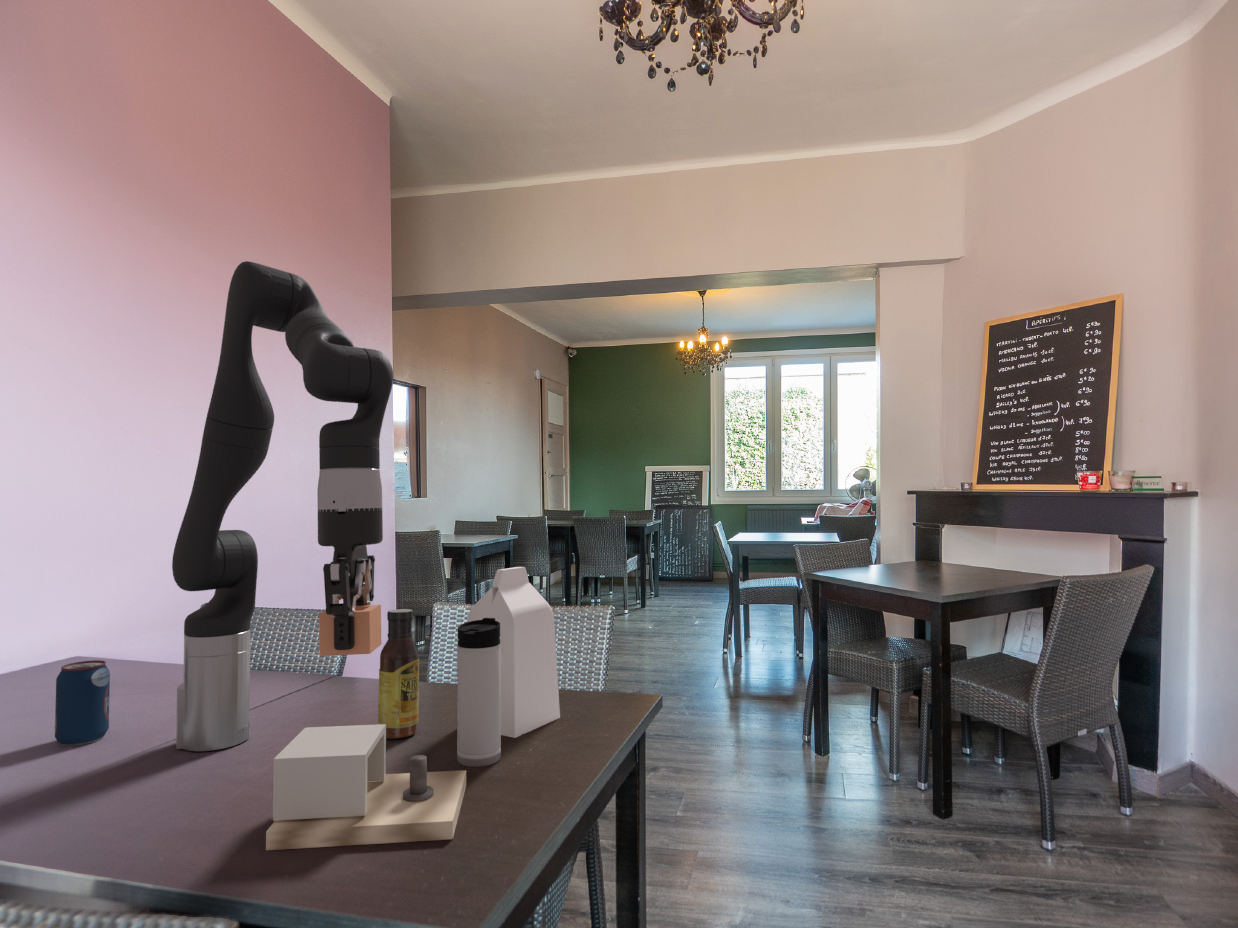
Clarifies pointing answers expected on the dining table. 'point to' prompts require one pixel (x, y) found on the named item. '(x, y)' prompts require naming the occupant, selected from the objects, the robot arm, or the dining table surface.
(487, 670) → the travel mug
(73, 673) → the soda can
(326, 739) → the cover
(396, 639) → the sauce bottle
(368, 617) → the ring block
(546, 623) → the milk
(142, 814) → the dining table surface
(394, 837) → the board
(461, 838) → the dining table surface
